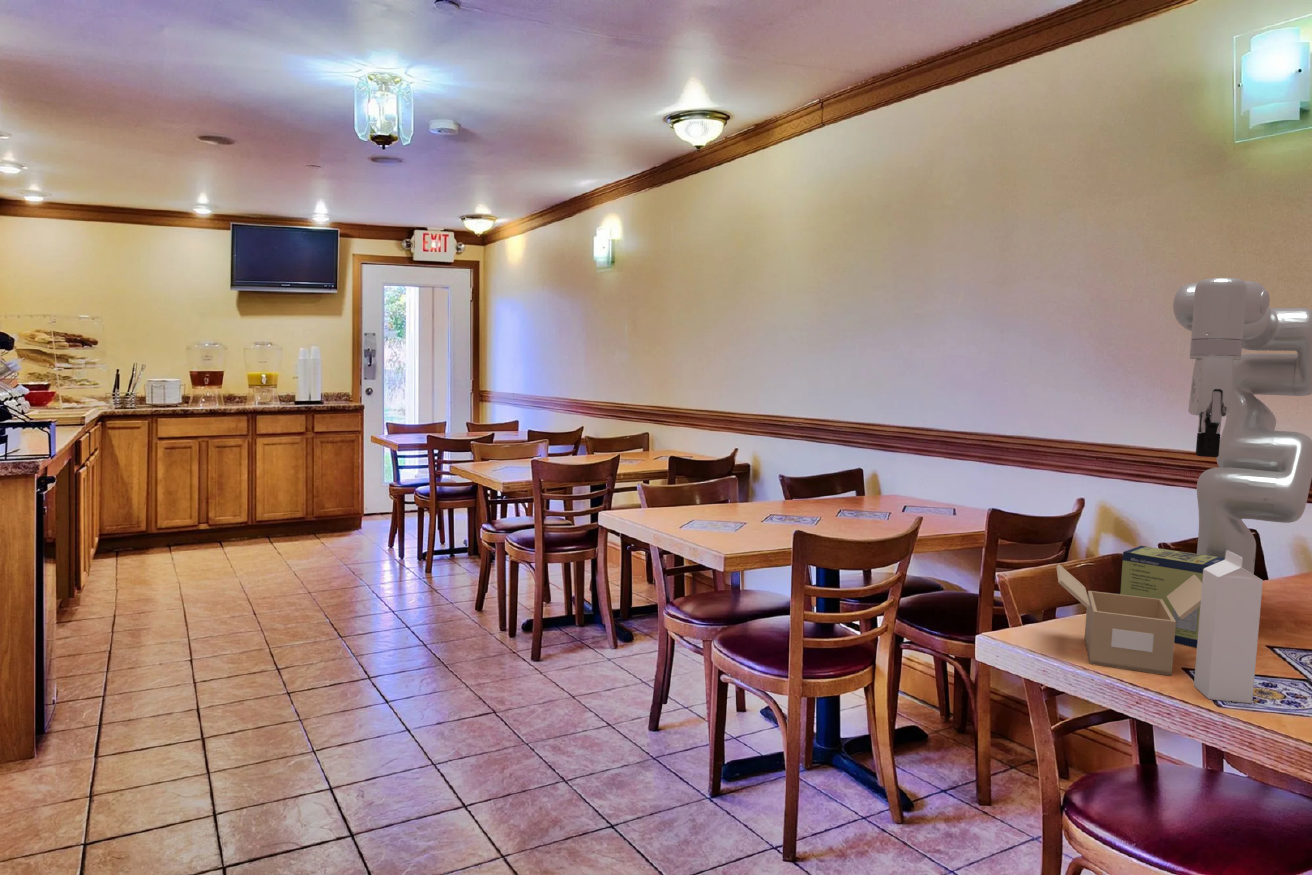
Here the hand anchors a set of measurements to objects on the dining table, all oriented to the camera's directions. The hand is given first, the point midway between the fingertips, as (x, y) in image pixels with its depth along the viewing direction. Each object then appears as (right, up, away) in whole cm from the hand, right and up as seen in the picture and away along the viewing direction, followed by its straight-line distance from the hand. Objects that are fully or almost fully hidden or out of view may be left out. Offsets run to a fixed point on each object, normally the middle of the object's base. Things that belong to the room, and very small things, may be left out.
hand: (1206, 456), depth 152 cm
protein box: (+1, -35, +14) cm, 37 cm away
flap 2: (-8, -26, -4) cm, 27 cm away
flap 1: (-20, -25, +2) cm, 32 cm away
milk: (-9, -37, -18) cm, 42 cm away
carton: (-14, -35, 0) cm, 38 cm away
